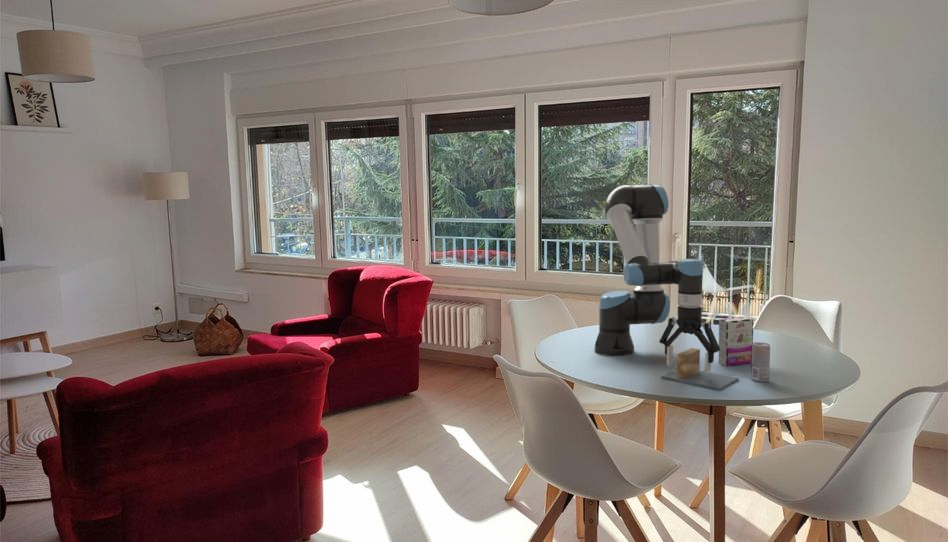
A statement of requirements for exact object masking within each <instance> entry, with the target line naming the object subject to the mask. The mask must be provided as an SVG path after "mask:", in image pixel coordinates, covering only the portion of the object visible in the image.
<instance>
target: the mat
mask: <svg viewBox="0 0 948 542" xmlns="http://www.w3.org/2000/svg"><path fill="white" fill-rule="evenodd" d="M661 379H663V380H669V381H674V382H678V383H684V384H688V385H692V386H698V387H702V388H706V389H711V390H715V391H716V390H717V391H722V390H724V389H725V388H727V387H729V386H731V385H733V384H735V383H736V382H738V381H740V380H739V377H736V376H729V375H726V374H721V373H715V372H711V371H710V372H708V373H705V370H704V371H703V370H700V369H699V373H697V374H695V375H693V376H691V377H689V378H687V379H683V378H678V377H677V368H676V369H674V370H671V371H669V372H667V373H664V374H662V375H661Z"/></svg>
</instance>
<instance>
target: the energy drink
mask: <svg viewBox="0 0 948 542" xmlns="http://www.w3.org/2000/svg"><path fill="white" fill-rule="evenodd" d="M770 360H771V345H770V344H769V343H766V342H753V346H752V363H751V373H750V374H751V376H750V377H751V380H752V381H754V382H757V383H767V382H769V381H770V367H771V366H770V365H771V361H770Z"/></svg>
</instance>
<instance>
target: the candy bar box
mask: <svg viewBox="0 0 948 542" xmlns="http://www.w3.org/2000/svg"><path fill="white" fill-rule="evenodd" d="M753 343H754V318H751V317H748V316H741V317H739V316H738V317H731V318H721V319H718V345H719V348H720V351H718V364H719V365H721V366H725V367H733V366H741V365H750V364H751V365H752V346H753Z"/></svg>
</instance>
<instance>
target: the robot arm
mask: <svg viewBox="0 0 948 542" xmlns="http://www.w3.org/2000/svg"><path fill="white" fill-rule="evenodd" d="M669 203H670V202H669V196H668V193H667V192H666V190H665V188H664V187H663V186H662V185H660V184H623V185H619V186H617V187H616V188H614V189H612V191H611V192H610V193H609V194H608V196H607V198H606V200H605V203H604V215H605V217H606V220H607V221H608V222H609V223H611V225H612V228H613V231H614V234H615V236H616V239H617V241H618V245H619V247H620V250H621V252H622V255H623V257H624V261H625V265H624V267H623V273H622V275H623V280H624V282H625V284H626V285H628V286H635V287H634V288H633V291H632V292H633V293H632V294H631V293H630V291H629V290H614V291H609V292H608V291H607V292H605V293H603V294H601V295H600V297H599V302H598V303H599V304H598V310H599V312H598V313H599V316H598V317H599V319H598V321H599V323H598V326H599V327H598V329H599V331H598V334H597V338H596V339H595V344H594V352H595V353H597V354H600V355H603V356H604V355H605V356H612V357H616V356H617V357H620V356H621V357H622V356H623V357H624V356H630V355H632V354H634V353H635V344H634V341H633V338H632V336H631V331H630V330H631V329H630V327H631V325H644V324H645V325H648V324H650V325H654V324H655V325H656V324H661V323H664V322H665V321H666V320H667V318H668V317H669V314H670V310H671V300H670V297H669V294H667V293H666V292H665V288H664V287H662V286H661V285H677V286H678V287H677V304H678V307H677V318H675V317H674V316H672V317H670V318H668V323H667V326H666V327H665V329H664V331H663V334H662V335H661V337H660V339H659V344H662V345H664V355H665V356H666V366H671V365H673V363H674V361H673V360H674V345H673V342H674V341H675V340H676V339H677V338H678V337H679V336H680V335H681V334H682V333H684V334H689V335H694V336H695V337H697V339H698V340H699V342H700V343H701V345H702V346H703V347H704V349H705V350H706V352H705V356H704V357H705V358H704V371H705V373H708V372H710V373H711V371H712V364H713V363H714V360H715V353H719V351H720V348H719V342H718V341H717V339H716V337H715V334H714V332H713V330H712V323H711V322H710V321H708V322H703V321H702V315H703V314H702V309H703V307H702V305H703V277H704V276H703V275H704V269H703V261H702V260H701V259H697V258H683V259H680V260H679V261H678V260H676V261H674V260H669V261H667V262H660V223H661V222H662V221H663V217H664V215H666V214H667V213H668V211H669V210H668V208H669ZM675 325H678V328H677V329H676V330H675V332H674V331H673V329H674V326H675ZM701 328H702V329H703V330H704V332H705V334H704V332H703V330H702V329H701ZM672 331H673V333H672V335H670V334H671V332H672ZM705 335H706V336H705Z"/></svg>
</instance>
